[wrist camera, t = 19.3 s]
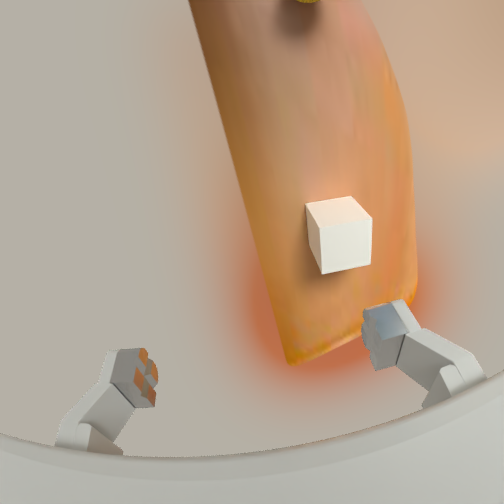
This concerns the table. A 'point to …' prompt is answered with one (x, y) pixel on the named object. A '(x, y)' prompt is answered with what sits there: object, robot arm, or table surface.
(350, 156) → the table surface
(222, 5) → the table surface
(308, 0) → the lemon
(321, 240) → the matte ivory cube
